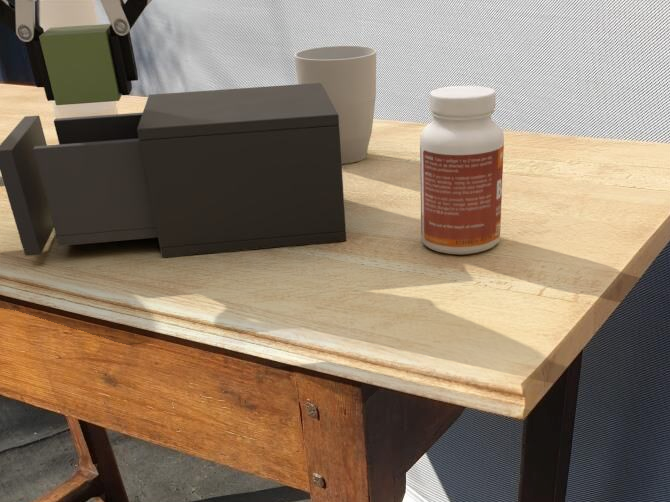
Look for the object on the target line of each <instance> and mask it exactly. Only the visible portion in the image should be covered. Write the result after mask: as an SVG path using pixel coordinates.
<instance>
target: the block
mask: <svg viewBox="0 0 670 502" xmlns="http://www.w3.org/2000/svg"><path fill="white" fill-rule="evenodd" d="M110 25H111V23H105V24H103V23H102V24H100V25H85V26H70V27H54V28H49V29H48V30H46V31H45V32H44V33H43V34H41V35H40V36H39V39H40V43H41V47H42V51H43V55H44V59H45V63H46V67H47V71H48V75H49V79H50V83H51V87H52V91H53V95H54V99H55V103H56V105H68V104H82V103H96V102H109V101H116V102H119V101H120V100H121V98H122V94H120V93H119V89H118V85H117V80H116V75H115V70H114V65H113V60H112V55H111V50H110V46H109V37H110V36H111V33H110V28H109V27H110Z"/></svg>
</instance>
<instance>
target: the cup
mask: <svg viewBox="0 0 670 502" xmlns="http://www.w3.org/2000/svg"><path fill="white" fill-rule="evenodd" d="M293 56H294V58H293V59H294V63H295V71H296V79H297V84H312V83H321V84H322V86H323V87H324V89H325V91H326V93H327V95H328V97H329V98H330V100H331V102H332V104H333V106H334V108H335V109H336V111H337V113H338V115H339V130H340V146H341V162H342V165H344V164H345V165H347V164H352V163H357V162H360V161H363V160H364V159H365V158H366V157H367V153H368V149H369V145H370V141H371V136H372V132H373V126H374V117H375V115H374V114H375V106H376V97H377V49H375V48H373V47H369V46H361V45H331V46H321V47H313V48H308V49H303V50H299V51H297V52H295V53H294V55H293Z"/></svg>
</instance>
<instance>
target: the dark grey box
mask: <svg viewBox="0 0 670 502" xmlns="http://www.w3.org/2000/svg"><path fill="white" fill-rule="evenodd" d="M142 113H143V114H142V117H141V119H140V122H139V125H138V128H137V133H138V138H139V143H140V148H141V153H142V158H143V164H144V169H145V174H146V179H147V184H148V189H149V194H150V199H151V205H152V210H153V215H154V220H155V225H156V230H157V235H158V237H157V240H158V245H159V250H160V256H161V258H173V257H174V258H175V257H184V256H185V257H186V256H195V255H206V254H207V255H208V254H217V253H228V252H240V251H241V252H242V251H250V250H261V249H274V248H282V247H283V248H284V247H295V246H305V245H316V244H327V243H328V244H329V243H338V242H346V241H347V233H346V232H347V231H346V230H347V229H346V227H347V226H346V212H345V196H344V195H345V194H344V180H343V179H344V177H343V164H342V162H341V146H340V130H339V115H338V113H337V111H336V109H335V108H334V106H333V104H332V102H331V100H330V98H329V97H328V95H327V93H326V91H325V89H324V87H323V86H322V84H321V83H312V84H298V83H297V84H285V85H283V84H282V85H271V86H256V87H242V88H241V87H240V88H225V89H212V90H198V91H185V92H184V91H183V92H169V93H155V94H148V97H147V100H146V103H145V105H144V108H143V110H142Z"/></svg>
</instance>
